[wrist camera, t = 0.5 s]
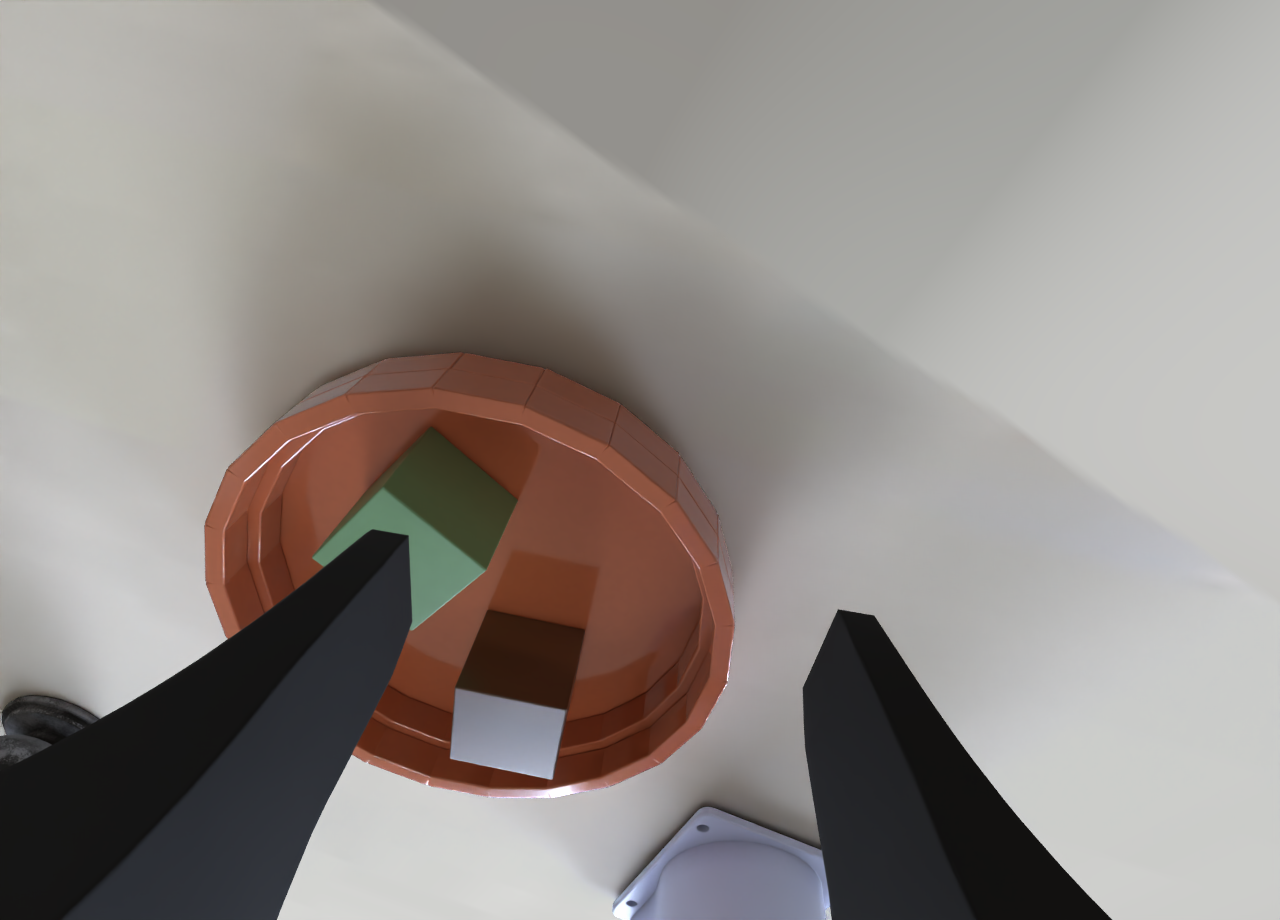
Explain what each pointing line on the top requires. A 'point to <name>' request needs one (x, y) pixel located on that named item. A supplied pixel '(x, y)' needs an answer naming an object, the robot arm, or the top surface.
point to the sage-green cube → (431, 519)
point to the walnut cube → (515, 694)
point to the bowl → (503, 558)
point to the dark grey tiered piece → (37, 726)
